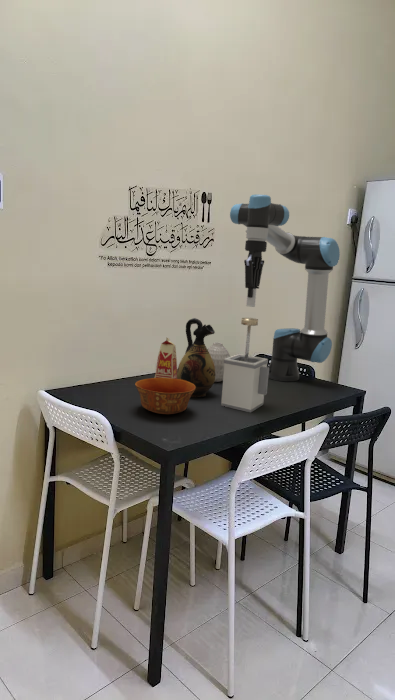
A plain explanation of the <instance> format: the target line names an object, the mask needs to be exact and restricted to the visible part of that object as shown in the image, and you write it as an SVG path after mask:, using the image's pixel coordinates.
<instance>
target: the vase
mask: <svg viewBox="0 0 395 700" xmlns="http://www.w3.org/2000/svg"><path fill="white" fill-rule="evenodd" d="M207 349H208V351H209V353H210V355H211V358H212V360H213V362H214V366H215V374H216V376H215V381H214V383H217V382H218V383H219V382H223V376H224V360H225V359H226V358H229V357H231V354H230V352H229V350H228V349H227V348H226V347H225V346H224V345H223V343H222V342H219V341H218V342H217V341H214V342H213V343H212V345H210V346H209V347H208V348H207Z"/></svg>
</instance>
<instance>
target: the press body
mask: <svg viewBox="0 0 395 700" xmlns="http://www.w3.org/2000/svg"><path fill="white" fill-rule="evenodd" d="M268 363H269V359H268V358H265V357H259V356H252V355H248V362H245V354H241V353H238V354H235V355H232V356H231V355H230V357H229V358H226V359H225V360H224V376H223V380H222V387H221V388H222V389H221V390H222V391H221V401H220V403H221V404H220V406H221V407H224V406H225V407H226V408H228V409H234V410H237V411H238V410H239V411H243V412H247V413H252V412H254V411H255V410H257V409H259V408H260V407H261V406H263V405H264V400H265V396H266V395H267V394H268V384H269V378H268V376H269V368H268Z"/></svg>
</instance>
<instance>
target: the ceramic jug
mask: <svg viewBox="0 0 395 700" xmlns="http://www.w3.org/2000/svg"><path fill="white" fill-rule="evenodd" d="M192 325H197V328H195V329H194V330H193V336H195V339H194V341H193V337H192V330H191V327H192ZM214 334H216V332H215V330H214V328H213V327H212V325H211V324H207V325H206V324H203V322H202V321H201V320H200V319H198V318H196V317H193V318H191V319H189V320H187V322H186V324H185V335H186V339H187V347H186V349H185V353H184V355H183V356H182V358H181V360H180V362H179V364H178V365H177V379H181V380H185V381H188V382H191V383H193V384H194V385H195V386H196V389H195V391H194V392H193V393H192V395H191V397H190V398H204V397H206V396H207V393H208V391H209V390H210V389H211V388H212V387H213V385H214V383H215V382H214V381H215V376H216V374H215V366H214V362H213V360H212V358H211V355H210V353H209V351H208V348H207V346H206V344H205V341H204V340H205V338H206V337H207V336H211V335H214Z"/></svg>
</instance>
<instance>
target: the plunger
mask: <svg viewBox="0 0 395 700" xmlns="http://www.w3.org/2000/svg"><path fill="white" fill-rule="evenodd" d="M240 322H241V323H240V324H241V325H243V326H247V328H246V341H245V351H244V353H245V354H244V355H245V362H248V356H249V351H250V340H251V330H252V329H251V328H252V326H253V327H254V326H258V324H259V323H258V322H259V319H258V318H255V317H242V318H241V321H240Z"/></svg>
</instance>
